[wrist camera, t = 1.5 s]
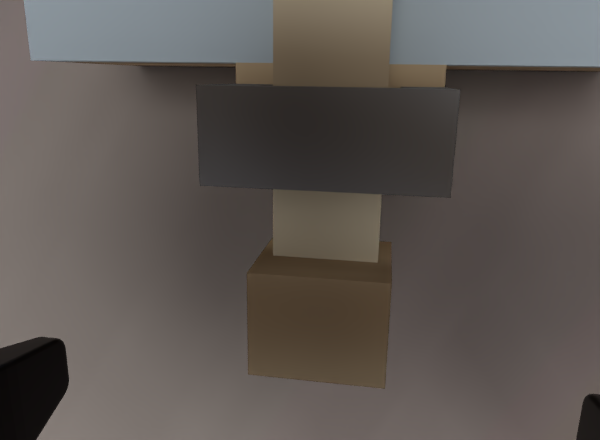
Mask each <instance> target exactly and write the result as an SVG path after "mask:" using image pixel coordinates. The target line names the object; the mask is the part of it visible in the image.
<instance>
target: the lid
mask: <svg viewBox="0 0 600 440" xmlns="http://www.w3.org/2000/svg"><path fill="white" fill-rule="evenodd" d="M24 6H25V14H26V23H27V32H28V40H29V49H30V57H31V60H35V61H55V62H131V63H221V64H236V63H273V0H24ZM389 64H421V65H447V66H489V67H578V68H600V0H393V7H392V25H391V42H390V60H389Z"/></svg>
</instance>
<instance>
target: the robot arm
mask: <svg viewBox="0 0 600 440" xmlns="http://www.w3.org/2000/svg"><path fill="white" fill-rule="evenodd" d="M68 383H69V375H68V366H67V357H66V348H65V345H64V342H63V341H62V340H60V339H57V338H48V337H38V338H34V339H31V340H27V341H24V342H21V343H17V344H14V345H10V346H7V347H4V348H0V440H36V439H37V438H38V436H39V434H40V433H41V431H42V430H43V428H44V426H45V425H46V423H47V422H48V420H49V418H50V417H51V415H52V414H53V412H54V410H55V409H56V407H57V406H58V404H59V402H60V401H61V399H62V398H63V396H64V394H65V393H66V390H67V388H68ZM576 440H600V395H598V394H589V395H587V396H586V397H585V399H584V401H583V405H582V410H581V416H580V421H579V427H578V432H577V438H576Z"/></svg>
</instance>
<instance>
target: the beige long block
mask: <svg viewBox="0 0 600 440" xmlns="http://www.w3.org/2000/svg"><path fill="white" fill-rule="evenodd" d="M392 7H393V0H273V86H317V87H374V88H388V77H389V60H390V42H391V25H392ZM381 200H382V194H363V193H342V192H322V191H301V190H281V189H273V238H272V239H271V241H270V242H269V243H268V245H267V246H266V247H265V249H264V250H263V251H262V253H261V254H260V256H259V257H258V258H257V260H256V261H255V262H254V264H253V265H252V267H251V268H250V269H249V271H248V272H247V325H248V374H249V375H259V376H268V377H278V378H288V379H297V380H307V381H316V382H326V383H335V384H345V385H354V386H364V387H374V388H383V389H385V379H386V364H387V349H388V333H389V318H390V303H391V287H392V266H391V242H381V241H379V235H380V218H381Z"/></svg>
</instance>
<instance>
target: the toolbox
mask: <svg viewBox="0 0 600 440" xmlns="http://www.w3.org/2000/svg"><path fill="white" fill-rule="evenodd" d="M75 63H94V64H114V65H134V66H198V67H236V84H212V85H196V99H197V126H198V153H199V180H200V186H219V187H239V188H260V189H281V190H301V191H322V192H342V193H363V194H384V195H404V196H425V197H445V198H451V187H452V177H453V166H454V155H455V144H456V133H457V123H458V112H459V101H460V90H459V89H452V88H446V87H445V79H446V70H527V71H600V68H578V67H489V66H447V65H421V64H389V77H388V88H374V87H317V86H273V63H236V64H221V63H131V62H75Z"/></svg>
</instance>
